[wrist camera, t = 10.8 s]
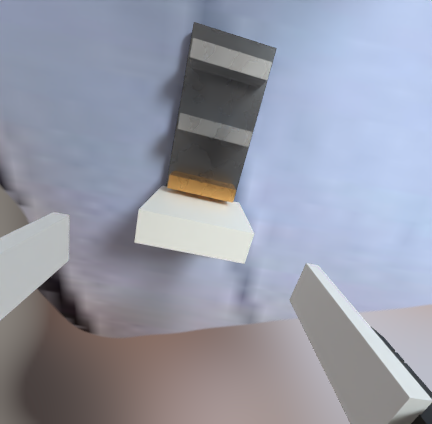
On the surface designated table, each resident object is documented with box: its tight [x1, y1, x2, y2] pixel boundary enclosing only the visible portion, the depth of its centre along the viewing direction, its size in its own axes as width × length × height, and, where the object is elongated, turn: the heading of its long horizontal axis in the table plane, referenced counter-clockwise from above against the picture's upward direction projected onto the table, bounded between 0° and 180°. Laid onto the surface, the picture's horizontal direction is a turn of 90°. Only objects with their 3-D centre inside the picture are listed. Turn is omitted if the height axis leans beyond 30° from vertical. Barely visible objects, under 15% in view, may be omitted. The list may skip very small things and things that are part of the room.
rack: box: [166, 22, 276, 203], centre depth 19 cm, size 20×7×4 cm, turn 166°
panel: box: [134, 186, 254, 264], centre depth 18 cm, size 2×8×8 cm, turn 76°
